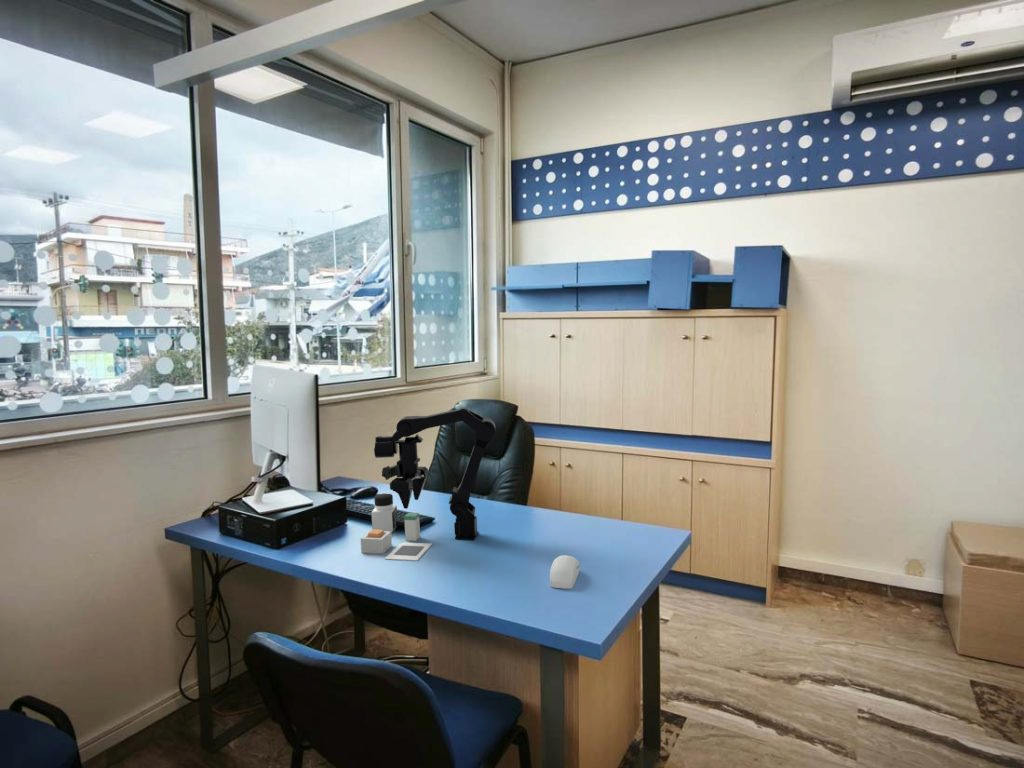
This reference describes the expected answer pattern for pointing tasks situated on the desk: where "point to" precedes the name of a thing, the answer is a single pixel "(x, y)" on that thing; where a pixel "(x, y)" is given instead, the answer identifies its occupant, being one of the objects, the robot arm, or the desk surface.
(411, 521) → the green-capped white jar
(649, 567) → the desk surface
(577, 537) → the desk surface
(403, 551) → the white grey rectangular pad
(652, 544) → the desk surface
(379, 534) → the button
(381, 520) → the medicine bottle
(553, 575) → the computer mouse
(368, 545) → the button housing
